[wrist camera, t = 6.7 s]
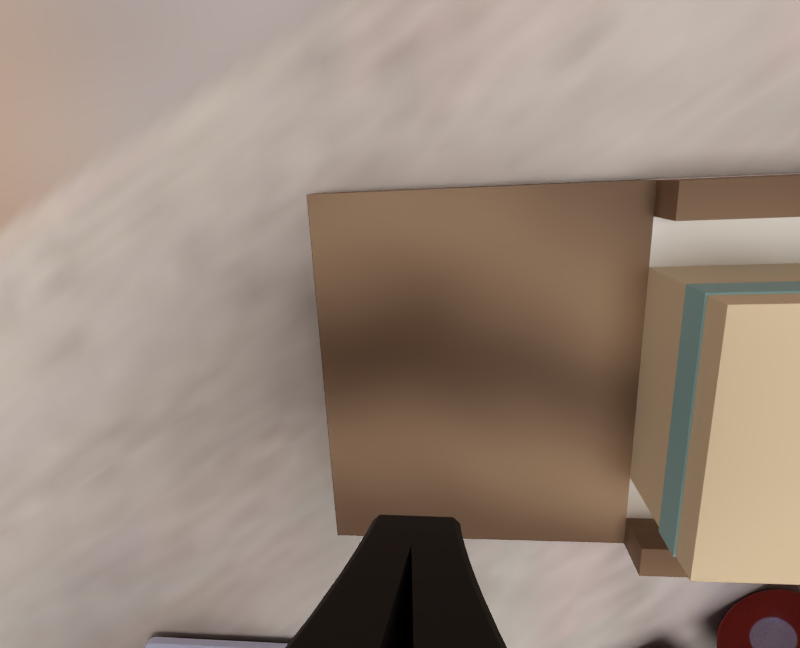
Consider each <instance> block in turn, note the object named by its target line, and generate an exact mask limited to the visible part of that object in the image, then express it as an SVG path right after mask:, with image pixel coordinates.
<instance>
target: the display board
mask: <svg viewBox="0 0 800 648" xmlns="http://www.w3.org/2000/svg"><path fill="white" fill-rule="evenodd" d="M307 203H308V214H309V225H310V236H311V247H312V258H313V269H314V280H315V291H316V302H317V313H318V324H319V335H320V346H321V357H322V368H323V379H324V390H325V401H326V412H327V423H328V434H329V445H330V456H331V467H332V478H333V489H334V500H335V511H336V522H337V533H338V535H357V536H365V534H366V532H367V530H368V529H369V527H370V525H371V523H372V521H373V520H374V519H375V518H376V517H377V516H378V515H407V516H435V517H454V518H455V519H456V520H457V521H458V522H459V523H460V525H461V532H462V537H463V538H464V539H500V540H536V541H571V542H607V543H624V544H625V546H626V548H627V550H628V552H629V555H630V557H631V559H632V561H633V563H634V565H635V567H636V570H637V572H638V574H639V576H666V577H688V576H687V574H686V573H685V571H684V569H683V568H682V566H681V564H680V562H679V561H678V559H677V557H673V556H672V554H671V552H670V550H669V549H668V547H667V545H666V544H665V542H664V540H663V538H662V537H661V535H660V533H659V526H658V525H657V523H656V521H655V520H654V518H653V516H652V515H651V513H650V511H649V509H648V508H647V506H646V504H645V503H644V501H643V499H642V497H641V496H640V494H639V492H638V491H637V489H636V487H635V485H634V484H633V482H632V480H631V479H630V473H631V462H632V450H633V439H634V428H635V417H636V406H637V395H638V384H639V373H640V362H641V351H642V340H643V328H644V317H645V306H646V295H647V284H648V273H649V267H675V266H713V265H752V264H791V263H800V173H785V174H762V175H738V176H715V177H691V178H668V179H644V180H621V181H597V182H574V183H550V184H527V185H503V186H480V187H456V188H433V189H409V190H386V191H362V192H339V193H315V194H308V195H307Z"/></svg>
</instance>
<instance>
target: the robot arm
mask: <svg viewBox="0 0 800 648" xmlns="http://www.w3.org/2000/svg"><path fill="white" fill-rule="evenodd" d="M144 648H507V647H506V645H505V643H504V641H503V639H502V637H501V635H500V633H499V631H498V628H497V626H496V624H495V622H494V619H493V617H492V615H491V613H490V611H489V608H488V606H487V604H486V602H485V599H484V597H483V595H482V592H481V590H480V587H479V585H478V583H477V580H476V577H475V575H474V572H473V569H472V566H471V564H470V561H469V558H468V555H467V551H466V548H465V545H464V541H463V537H462V532H461V525H460V523H459V522H458V521H457V520H456V519H455V518H454V517H435V516H407V515H378V516H377V517H376V518H375V519H374V520H373V521H372V523H371V525H370V527H369V529H368V530H367V532H366V534H365V536H364V537H363V539H362V541H361V542H360V544H359V546H358V547H357V549H356V551H355V552H354V554H353V555H352V557H351V558H350V560H349V561H348V563H347V565H346V566H345V568H344V569H343V571H342V572H341V574H340V575H339V577H338V578H337V579H336V581H335V582H334V584H333V585H332V586H331V588H330V589H329V591H328V592H327V593H326V595H325V596H324V598H323V599H322V600H321V602H320V603H319V605H318V606H317V608H316V609H315V610H314V612H313V613H312V614H311V616H310V617H309V618H308V620H307V621H306V622H305V623H304V625H303V626H302V627H301V628H300V630H299V631H298V632H297V633H296V635H295V636H294V637H293V638H292V640H291V641H290V642H289V643H268V642H249V641H229V640H210V639H190V638H170V637H152V638H151V639H149V640H148V642H147V644H146V645H145V647H144Z"/></svg>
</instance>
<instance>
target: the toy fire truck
mask: <svg viewBox="0 0 800 648" xmlns="http://www.w3.org/2000/svg"><path fill="white" fill-rule="evenodd" d="M717 648H800V593H798V592H795V591H791V590H774V589H773V590H765V591H760V592H757V593H754V594H751V595H749V596H747V597H745V598H743V599H741V600H740V601H738V602H737V603H735V604H734V605H733V606H732V607H731V608H730V610H729V611H728V612H727V613H726V614H725V616H724V618H723V619H722V621H721V622H720V624H719V628H718V632H717Z"/></svg>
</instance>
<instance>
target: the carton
mask: <svg viewBox="0 0 800 648" xmlns="http://www.w3.org/2000/svg"><path fill="white" fill-rule="evenodd" d="M630 479H631V480H632V482H633V484H634V485H635V487H636V489H637V491H638V492H639V494H640V496H641V497H642V499H643V501H644V503H645V504H646V506H647V508H648V509H649V511H650V513H651V515H652V516H653V518H654V520H655V521H656V523H657V525H658V526H659V533H660V535H661V537H662V538H663V540H664V542H665V544H666V545H667V547H668V549H669V550H670V552H671V554H672V556H673V557H677V559H678V561H679V562H680V564H681V566H682V568H683V569H684V571H685V573H686V574H687V576H688V578H689V580H690V581H705V582H733V583H762V584H791V585H800V263H791V264H752V265H713V266H675V267H649V273H648V284H647V295H646V306H645V317H644V328H643V340H642V351H641V362H640V373H639V384H638V395H637V406H636V417H635V428H634V439H633V450H632V462H631V473H630Z"/></svg>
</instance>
